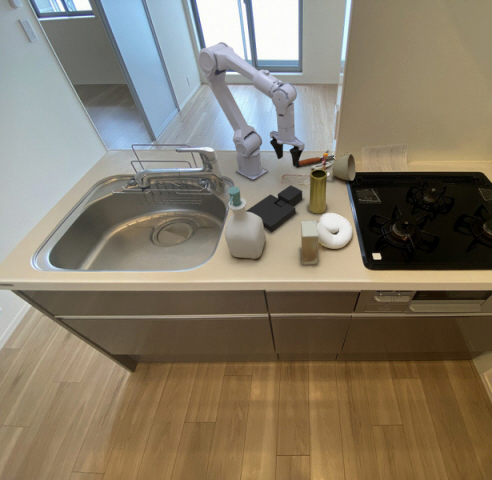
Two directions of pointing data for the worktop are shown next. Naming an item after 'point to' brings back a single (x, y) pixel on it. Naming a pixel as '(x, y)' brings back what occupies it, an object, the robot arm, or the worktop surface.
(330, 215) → the sculpture
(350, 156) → the cup
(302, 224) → the cosmetic box
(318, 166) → the soap
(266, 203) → the base pad
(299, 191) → the black block with stub
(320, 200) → the vase
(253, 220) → the soap bottle
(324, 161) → the action figure
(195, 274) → the worktop surface
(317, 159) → the knife
